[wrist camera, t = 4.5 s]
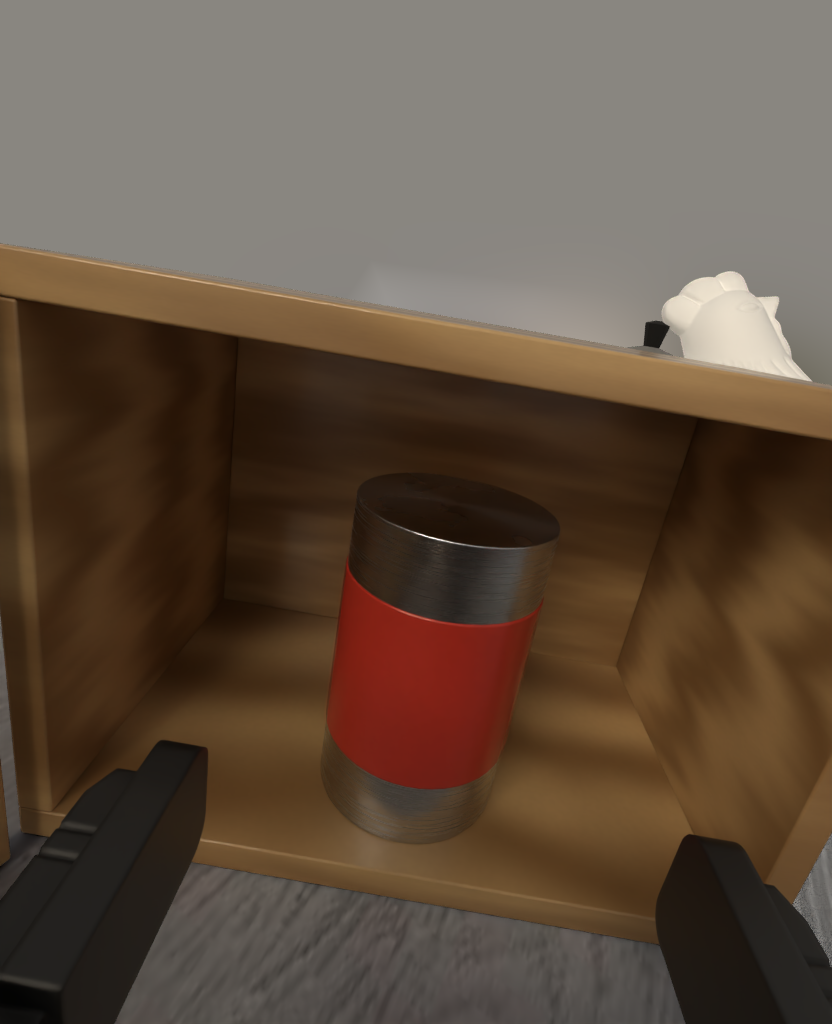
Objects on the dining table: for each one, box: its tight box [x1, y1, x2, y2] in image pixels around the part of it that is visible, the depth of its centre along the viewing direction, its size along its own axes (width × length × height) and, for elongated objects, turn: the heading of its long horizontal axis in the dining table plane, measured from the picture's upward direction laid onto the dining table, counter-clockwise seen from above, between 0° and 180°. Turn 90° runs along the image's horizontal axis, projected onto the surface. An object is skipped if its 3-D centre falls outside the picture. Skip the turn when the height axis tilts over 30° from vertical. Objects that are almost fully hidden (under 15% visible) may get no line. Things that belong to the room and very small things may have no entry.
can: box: [320, 473, 561, 844], centre depth 18 cm, size 6×6×10 cm
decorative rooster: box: [661, 271, 812, 382], centre depth 63 cm, size 25×16×25 cm
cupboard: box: [0, 243, 832, 945], centre depth 21 cm, size 14×22×16 cm, turn 86°
